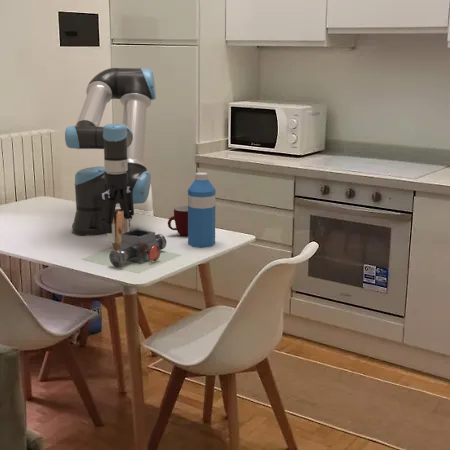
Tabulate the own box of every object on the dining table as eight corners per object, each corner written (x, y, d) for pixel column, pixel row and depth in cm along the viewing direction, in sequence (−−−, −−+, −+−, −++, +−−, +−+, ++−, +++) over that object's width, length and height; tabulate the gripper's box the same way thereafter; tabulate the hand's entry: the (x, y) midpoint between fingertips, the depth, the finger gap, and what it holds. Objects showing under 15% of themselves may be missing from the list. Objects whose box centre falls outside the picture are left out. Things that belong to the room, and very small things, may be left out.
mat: (80, 260, 220) (80, 259, 220) (126, 243, 237) (126, 242, 237) (138, 274, 207) (138, 273, 207) (182, 256, 225) (182, 254, 225)
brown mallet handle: (110, 248, 231) (108, 210, 227) (118, 245, 234) (117, 208, 231) (119, 250, 229) (118, 212, 225) (127, 247, 232) (126, 210, 229)
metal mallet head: (106, 265, 214) (105, 239, 212) (151, 248, 232) (150, 223, 229) (132, 271, 208) (132, 245, 206) (176, 253, 226) (176, 228, 224)
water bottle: (187, 241, 241) (187, 171, 235) (214, 240, 242) (214, 170, 236) (188, 249, 232) (188, 176, 226) (216, 248, 233) (216, 176, 227)
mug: (174, 240, 242) (174, 213, 239) (164, 235, 248) (163, 208, 246) (200, 236, 247) (200, 209, 244) (189, 231, 254) (189, 204, 251)
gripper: (104, 178, 215) (107, 248, 221) (144, 168, 230) (145, 234, 237) (86, 175, 219) (89, 244, 225) (127, 166, 234) (129, 231, 240)
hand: (118, 239), depth 231 cm, fingers open, 6 cm apart
